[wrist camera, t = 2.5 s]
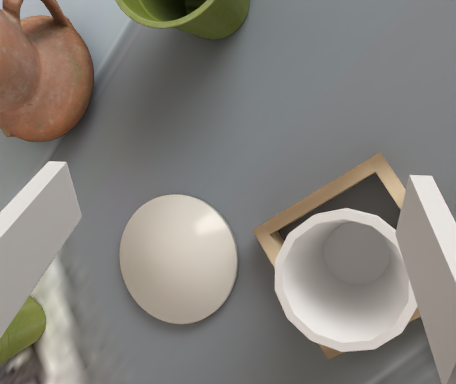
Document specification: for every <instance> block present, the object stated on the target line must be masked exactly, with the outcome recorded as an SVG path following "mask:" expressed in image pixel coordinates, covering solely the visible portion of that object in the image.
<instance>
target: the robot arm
mask: <svg viewBox="0 0 456 384" xmlns="http://www.w3.org/2000/svg"><path fill="white" fill-rule="evenodd" d="M81 218H82V215H81V212H80V208H79V204H78V201H77V197H76V194H75V190H74V186H73V183H72V179H71V176H70V172H69V168H68V165H67V162H55V161H48V162H47V164H46V165H45V166H44V167H43V168H42V169H41V170H40V171H39V172H38V173H37V174H36V175H35V176H34V177H33V178H32V179H31V180H30V182H29V183H28V184H27V185H26V186H25V187H24V188H23V189H22V190H21V191H20V192H19V193H18V194H17V195H16V196H15V197H14V198H13V199H12V201H11V202H10V203H9V204H8V205H7V206H6V207H5V208H4V209H3V210H2V211H1V212H0V338H1V337H2V335H3V334H4V332H5V331H6V329H7V328H8V326H9V325H10V323H11V322H12V320H13V319H14V317H15V316H16V314H17V313H18V311H19V310H20V308H21V307H22V306H23V304H24V303H25V301H26V300H27V298H28V297H29V295H30V294H31V292H32V291H33V289H34V288H35V286H36V285H37V283H38V282H39V280H40V279H41V277H42V276H43V274H44V273H45V271H46V270H47V268H48V267H49V265H50V264H51V262H52V261H53V259H54V258H55V256H56V255H57V253H58V252H59V250H60V249H61V247H62V246H63V244H64V243H65V242H66V240H67V239H68V237H69V236H70V234H71V233H72V231H73V230H74V228H75V227H76V225H77V224H78V222H79V221H80V219H81ZM395 235H396V238H397V241H398V245H399V248H400V251H401V254H402V258H403V261H404V264H405V267H406V270H407V274H408V277H409V280H410V283H411V286H412V290H413V293H414V296H415V299H416V303H417V306H418V309H419V312H420V315H421V319H422V322H423V325H424V328H425V332H426V335H427V338H428V341H429V344H430V348H431V351H432V354H433V357H434V361H435V364H436V367H437V370H438V373H439V377H440V380H441V383H442V384H456V222H455V221H454V219H453V217H452V215H451V213H450V211H449V209H448V207H447V205H446V203H445V201H444V199H443V197H442V195H441V193H440V191H439V189H438V187H437V185H436V183H435V181H434V179H433V177H432V176H422V175H409V179H408V183H407V187H406V192H405V196H404V200H403V204H402V208H401V212H400V216H399V220H398V225H397V229H396V233H395Z"/></svg>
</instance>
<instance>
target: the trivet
mask: <svg viewBox="0 0 456 384" xmlns="http://www.w3.org/2000/svg"><path fill="white" fill-rule="evenodd" d="M238 266H239V257H238V249H237V245H236V241H235V238H234V235H233V233H232V231H231V229H230V227H229V225H228V223H227V222H226V220H225V219H224V218H223V217H222V215H221V214H220V213H219V212H218V211H217V210H216V209H215V208H213V207H212V206H211V205H209V204H208V203H206V202H205V201H203V200H201V199H199V198H196V197H193V196H188V195H177V194H175V195H164V196H161V197H157V198H155V199H152V200H150V201H149V202H147V203H145V204H144V205H143V206H141V207H140V208H139V209H138V210H137V211H136V212H135V213H134V214H133V216H132V217H131V219H130V220H129V222H128V223H127V225H126V227H125V230H124V233H123V235H122V239H121V244H120V267H121V272H122V276H123V279H124V282H125V284H126V286H127V288H128V290H129V292H130V294H131V295H132V297H133V298H134V300H135V301H136V302H137V303H138V304H139V305H140V306H141V307H142V308H143V309H144V310H145V311H146V312H148V313H149V314H150V315H152V316H154V317H155V318H157V319H160V320H162V321H165V322H169V323H174V324H188V323H193V322H197V321H200V320H202V319H204V318H206V317H208V316H209V315H211V314H212V313H214V312H215V311H216V310H217V309H219V308H220V307H221V306H222V305H223V304H224V302H225V301H226V300H227V299H228V297H229V295H230V294H231V292H232V290H233V287H234V285H235V282H236V278H237V274H238Z"/></svg>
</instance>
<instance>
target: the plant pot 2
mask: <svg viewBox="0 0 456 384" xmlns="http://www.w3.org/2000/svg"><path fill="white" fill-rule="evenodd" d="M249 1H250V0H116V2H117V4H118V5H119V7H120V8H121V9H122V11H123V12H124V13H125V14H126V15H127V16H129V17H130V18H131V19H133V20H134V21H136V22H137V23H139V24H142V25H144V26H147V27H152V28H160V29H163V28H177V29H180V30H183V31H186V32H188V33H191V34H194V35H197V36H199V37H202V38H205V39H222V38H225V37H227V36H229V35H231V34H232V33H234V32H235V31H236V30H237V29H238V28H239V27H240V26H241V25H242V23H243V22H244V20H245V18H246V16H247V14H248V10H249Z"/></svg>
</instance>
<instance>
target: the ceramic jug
mask: <svg viewBox="0 0 456 384" xmlns="http://www.w3.org/2000/svg"><path fill="white" fill-rule="evenodd" d="M41 1H42V2H43V3H44V4H45V6H46V7H47V9H48V10H49V12H50V13H51V15H52V17H49V16H31V17H27V18H24V19H21V20H20V8H21V4H22V3H23V0H3V9H2V10H1V9H0V128H1V129H2V131H3V133H4V135H5V136H7V137H12V136H13V137H18V138H20V139H23V140H26V141H32V142H44V141H50V140H53V139H56V138H58V137H60V136H62V135H64V134H66V133H67V132H69V131H70V130H71V129H72V128H73V127H74V126H75V125H76V124H77V123H78V122H79V121H80V120H81V118H82V117H83V115H84V113H85V111H86V109H87V107H88V105H89V102H90V99H91V96H92V91H93V84H94V70H93V63H92V59H91V55H90V53H89V50H88V48H87V46H86V44H85V42H84V41H83V39H82V38H81V36H80V35H79V34H78V33H77V31H76V30H75V29H74V27H73V25H72V23H71V22H70V21H69V19H68V18H67V17H65V16H64V15H63V13H62V10H61V9H60V7H59V5H58V3H57V1H56V0H41Z"/></svg>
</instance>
